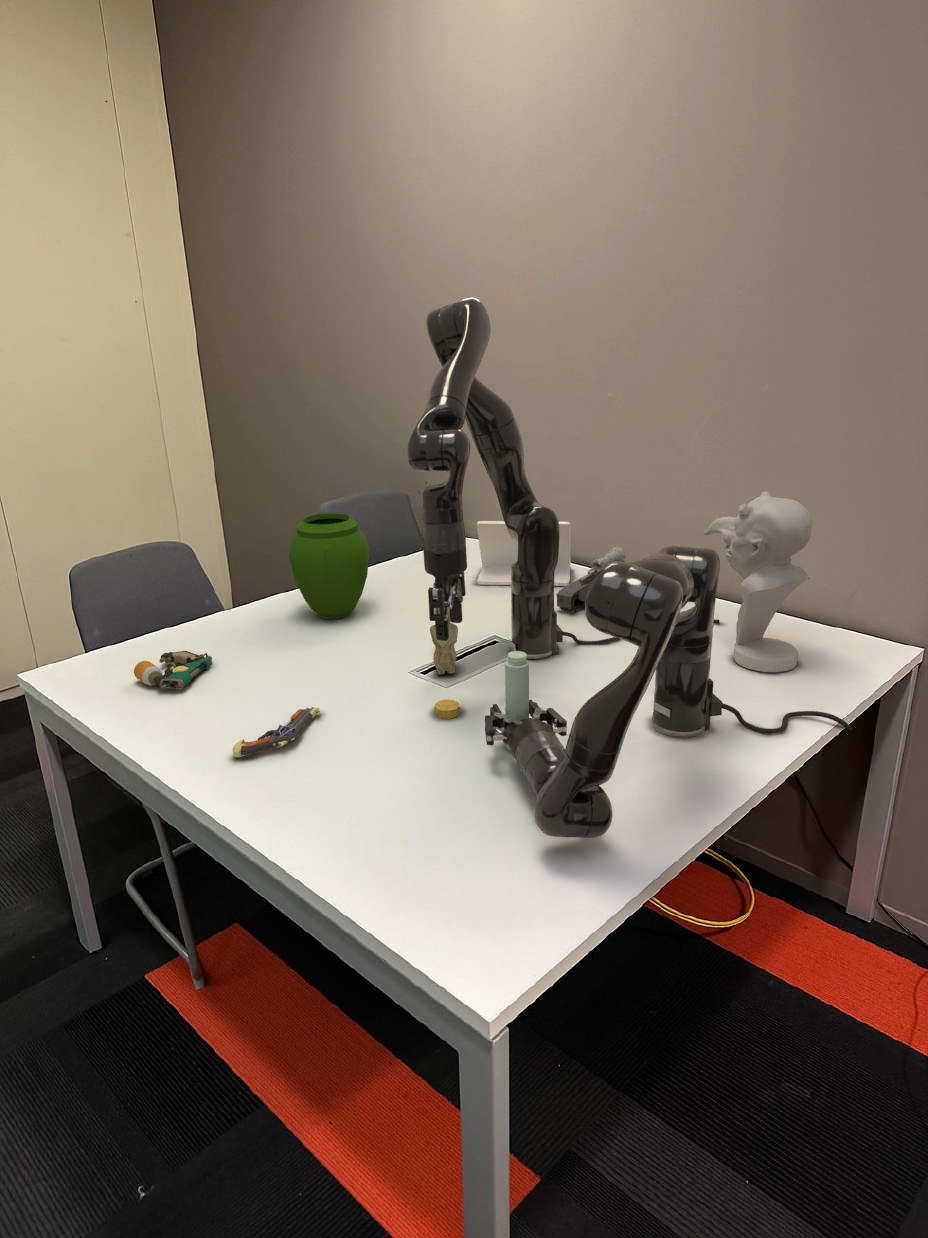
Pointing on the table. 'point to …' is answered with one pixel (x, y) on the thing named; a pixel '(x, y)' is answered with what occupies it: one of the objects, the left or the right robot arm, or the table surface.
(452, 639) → the sculpture
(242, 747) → the toy gun
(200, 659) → the spray gun
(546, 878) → the table surface
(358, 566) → the vase
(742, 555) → the bust sculpture
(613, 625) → the right robot arm
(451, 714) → the lid
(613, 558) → the toy
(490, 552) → the tablet stand
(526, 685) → the pale green cylinder
